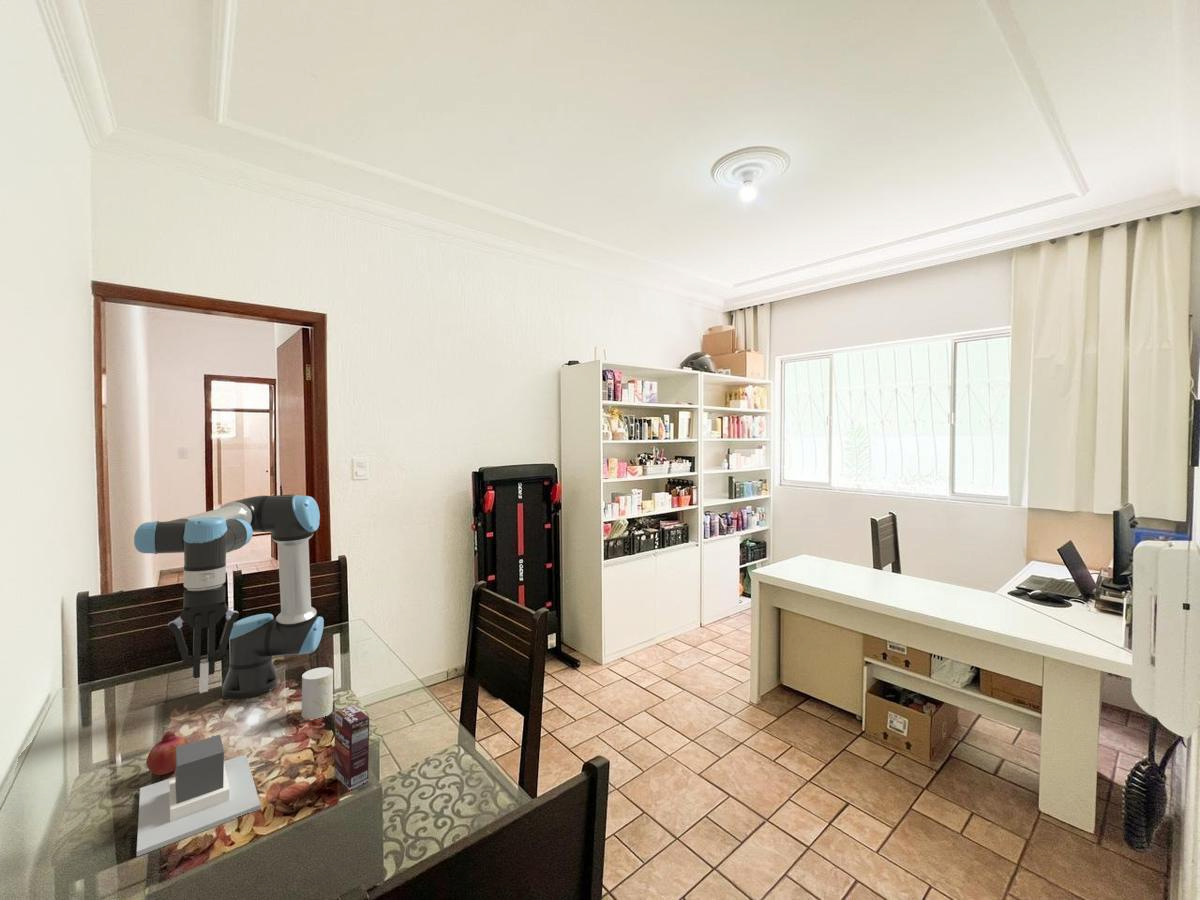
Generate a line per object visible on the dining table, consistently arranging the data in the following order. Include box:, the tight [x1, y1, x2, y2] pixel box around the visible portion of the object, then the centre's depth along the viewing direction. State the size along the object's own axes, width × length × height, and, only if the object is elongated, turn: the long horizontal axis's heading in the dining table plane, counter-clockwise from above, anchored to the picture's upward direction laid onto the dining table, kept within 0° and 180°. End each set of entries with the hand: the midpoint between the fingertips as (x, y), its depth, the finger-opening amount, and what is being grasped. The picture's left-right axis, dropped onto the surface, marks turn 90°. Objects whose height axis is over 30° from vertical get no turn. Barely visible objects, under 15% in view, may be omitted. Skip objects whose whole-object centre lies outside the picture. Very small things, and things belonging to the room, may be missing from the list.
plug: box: [175, 734, 225, 804], centre depth 113 cm, size 9×8×10 cm
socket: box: [136, 754, 261, 857], centre depth 113 cm, size 24×20×4 cm
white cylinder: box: [301, 666, 334, 719], centre depth 151 cm, size 8×8×12 cm
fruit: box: [146, 730, 189, 776], centre depth 122 cm, size 8×8×10 cm
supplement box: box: [333, 704, 370, 791], centre depth 121 cm, size 9×5×16 cm, turn 50°
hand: (203, 689), depth 114 cm, fingers closed
